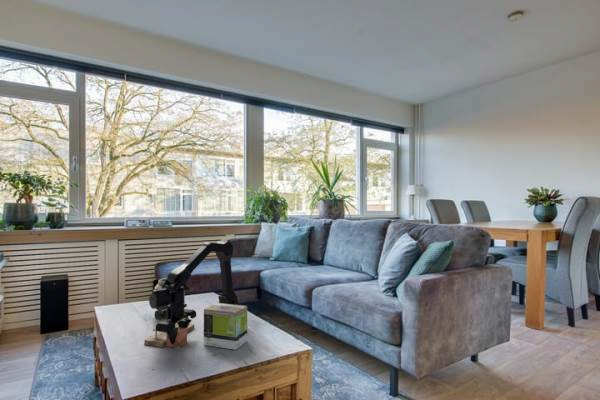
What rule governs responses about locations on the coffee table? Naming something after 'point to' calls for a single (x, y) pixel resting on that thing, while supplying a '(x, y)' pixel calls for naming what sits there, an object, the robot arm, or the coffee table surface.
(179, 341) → the terracotta strapped cube
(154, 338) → the board
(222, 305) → the tea box
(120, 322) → the coffee table surface
